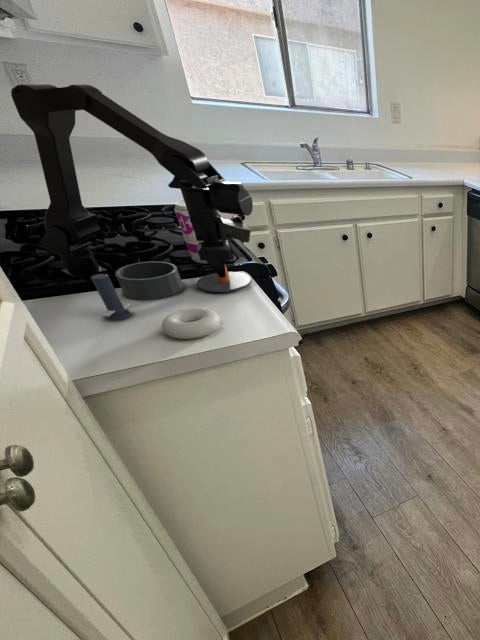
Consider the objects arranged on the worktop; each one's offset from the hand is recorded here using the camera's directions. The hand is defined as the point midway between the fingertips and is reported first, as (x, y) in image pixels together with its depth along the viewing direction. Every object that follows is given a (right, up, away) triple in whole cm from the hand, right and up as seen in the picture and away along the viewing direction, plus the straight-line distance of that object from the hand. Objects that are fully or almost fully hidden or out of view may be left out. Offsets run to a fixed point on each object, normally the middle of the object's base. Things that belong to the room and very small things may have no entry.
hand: (222, 275), depth 103 cm
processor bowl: (-13, -5, -5) cm, 15 cm away
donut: (+6, -16, -16) cm, 23 cm away
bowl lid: (0, -2, +1) cm, 2 cm away
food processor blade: (-11, -13, -15) cm, 23 cm away
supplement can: (-13, +8, +13) cm, 20 cm away
